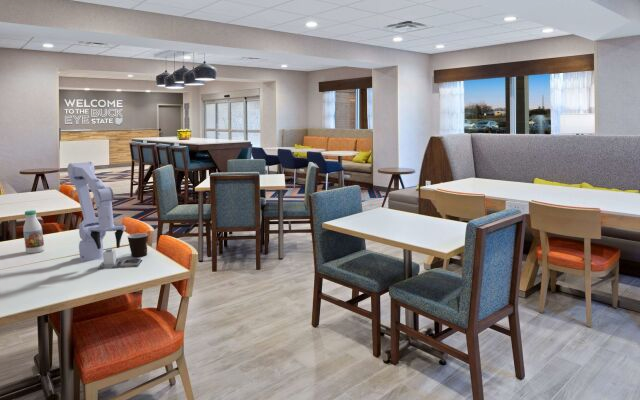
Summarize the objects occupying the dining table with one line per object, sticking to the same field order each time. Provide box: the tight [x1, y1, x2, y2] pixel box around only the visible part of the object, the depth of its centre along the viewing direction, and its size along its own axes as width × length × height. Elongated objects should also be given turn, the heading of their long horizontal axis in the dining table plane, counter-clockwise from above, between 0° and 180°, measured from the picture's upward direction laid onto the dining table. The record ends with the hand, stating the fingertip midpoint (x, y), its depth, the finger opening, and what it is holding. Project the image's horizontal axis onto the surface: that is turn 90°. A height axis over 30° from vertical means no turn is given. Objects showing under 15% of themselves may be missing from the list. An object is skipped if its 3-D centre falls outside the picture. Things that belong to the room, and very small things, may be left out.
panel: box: [97, 257, 143, 271], centre depth 199 cm, size 16×10×2 cm, turn 99°
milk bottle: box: [22, 209, 45, 254], centre depth 222 cm, size 8×8×20 cm
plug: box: [102, 248, 117, 265], centre depth 198 cm, size 4×4×7 cm
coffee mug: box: [127, 232, 149, 259], centre depth 213 cm, size 12×9×10 cm
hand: (108, 247), depth 197 cm, fingers open, 7 cm apart
